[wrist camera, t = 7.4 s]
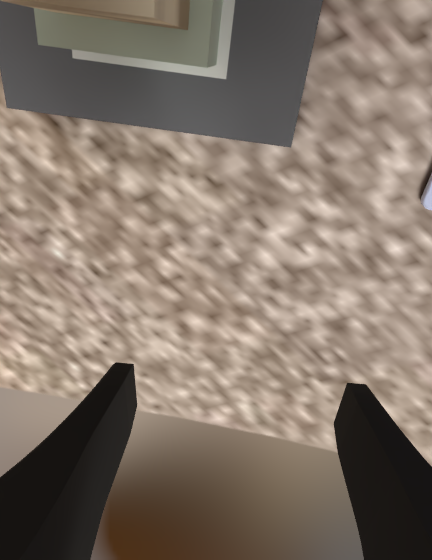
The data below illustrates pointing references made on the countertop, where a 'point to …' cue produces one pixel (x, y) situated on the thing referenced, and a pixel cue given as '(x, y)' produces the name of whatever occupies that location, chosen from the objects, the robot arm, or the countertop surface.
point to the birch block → (120, 10)
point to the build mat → (173, 76)
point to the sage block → (137, 35)
